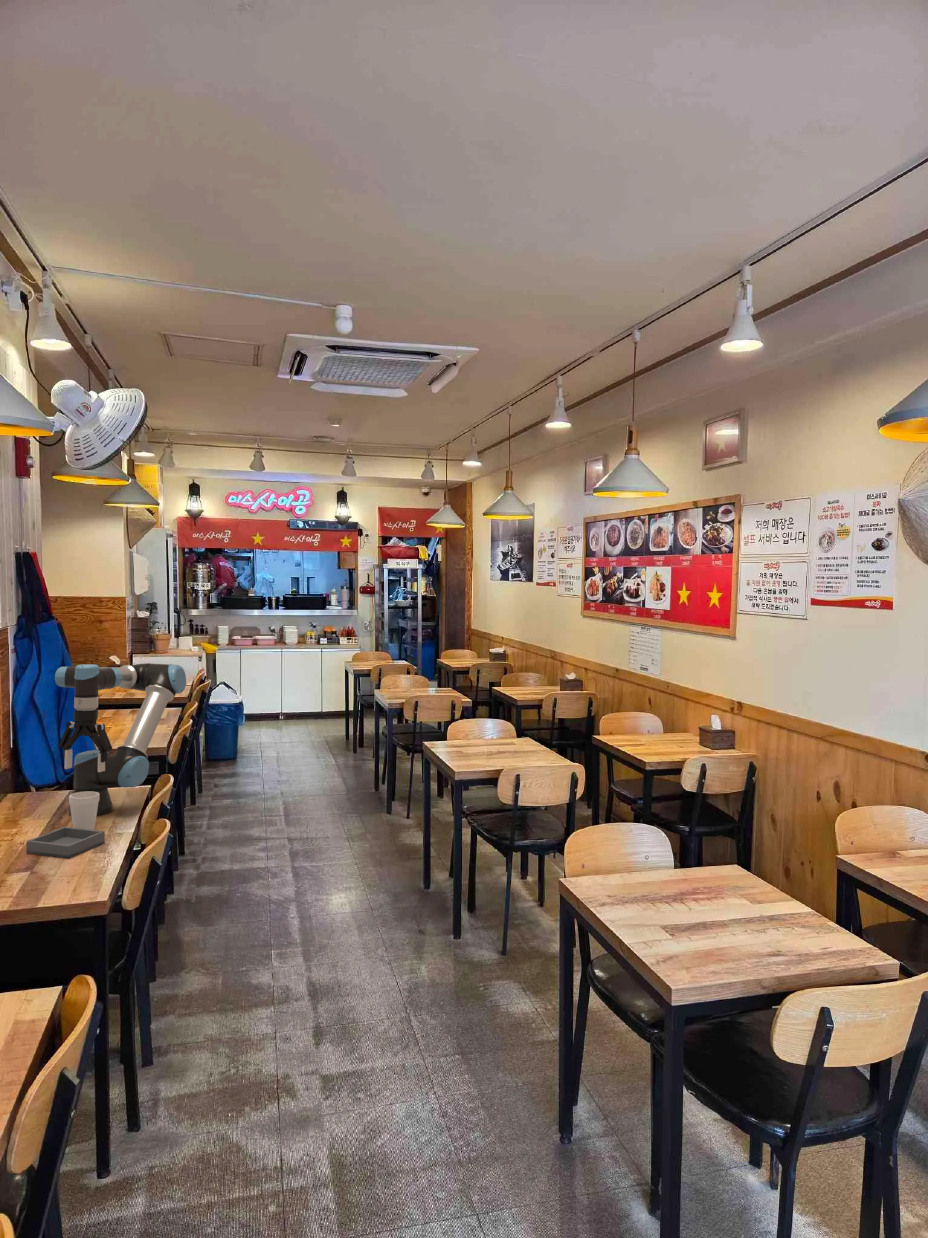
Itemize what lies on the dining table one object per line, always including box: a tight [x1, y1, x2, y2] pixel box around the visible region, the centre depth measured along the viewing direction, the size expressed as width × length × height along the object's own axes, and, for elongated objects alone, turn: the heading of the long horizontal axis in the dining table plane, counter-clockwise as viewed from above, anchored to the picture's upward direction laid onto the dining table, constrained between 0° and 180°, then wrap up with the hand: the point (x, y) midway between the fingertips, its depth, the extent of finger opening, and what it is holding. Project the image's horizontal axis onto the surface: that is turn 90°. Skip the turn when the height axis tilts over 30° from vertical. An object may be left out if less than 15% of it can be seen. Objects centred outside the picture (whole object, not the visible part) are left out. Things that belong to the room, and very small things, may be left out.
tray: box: [25, 826, 106, 860], centre depth 248 cm, size 16×16×4 cm
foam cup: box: [68, 791, 99, 830], centre depth 265 cm, size 10×9×13 cm
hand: (84, 770), depth 264 cm, fingers open, 13 cm apart
